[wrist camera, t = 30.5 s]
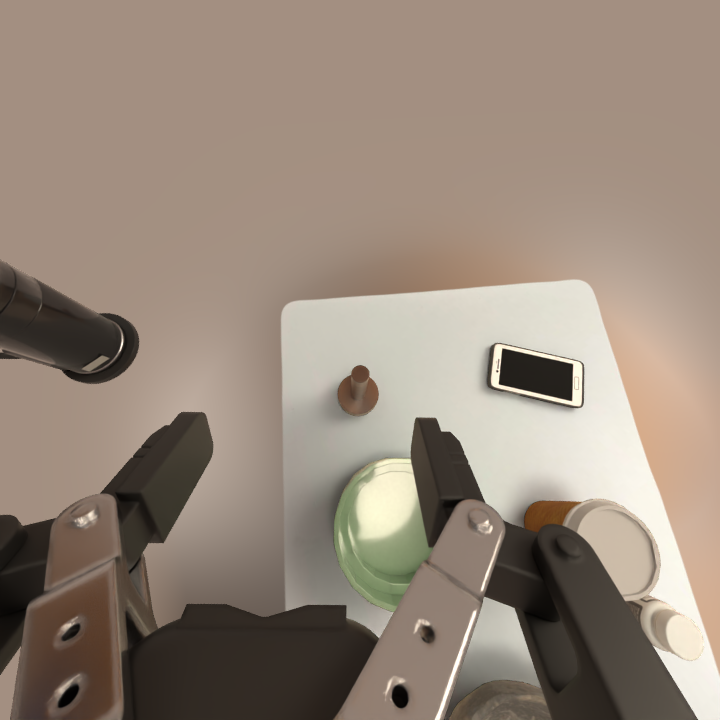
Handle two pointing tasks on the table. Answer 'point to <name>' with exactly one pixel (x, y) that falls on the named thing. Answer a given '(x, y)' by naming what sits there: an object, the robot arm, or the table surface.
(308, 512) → the table surface
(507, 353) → the cell phone
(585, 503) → the disposable coffee cup
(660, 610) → the pill bottle
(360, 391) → the wooden rod on disc
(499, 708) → the bowl
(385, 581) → the mixing bowl
